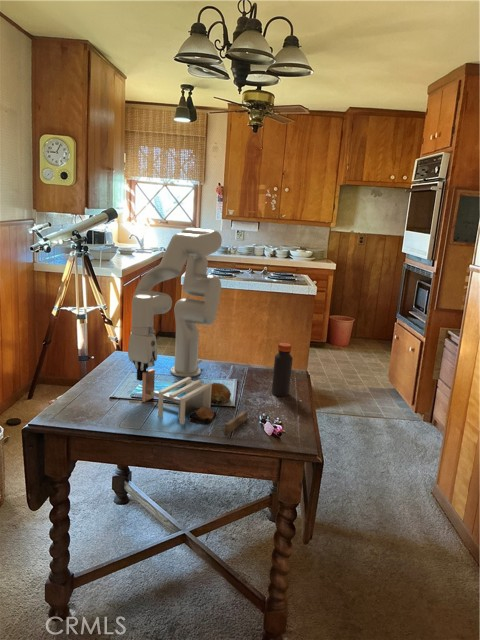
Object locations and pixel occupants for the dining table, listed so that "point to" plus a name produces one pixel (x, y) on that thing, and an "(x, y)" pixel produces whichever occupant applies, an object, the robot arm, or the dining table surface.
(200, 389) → the white slatted rack
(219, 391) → the bread roll
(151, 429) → the dining table surface
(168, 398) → the rod with wooden block
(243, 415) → the bar
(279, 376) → the bottle
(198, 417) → the bread roll
